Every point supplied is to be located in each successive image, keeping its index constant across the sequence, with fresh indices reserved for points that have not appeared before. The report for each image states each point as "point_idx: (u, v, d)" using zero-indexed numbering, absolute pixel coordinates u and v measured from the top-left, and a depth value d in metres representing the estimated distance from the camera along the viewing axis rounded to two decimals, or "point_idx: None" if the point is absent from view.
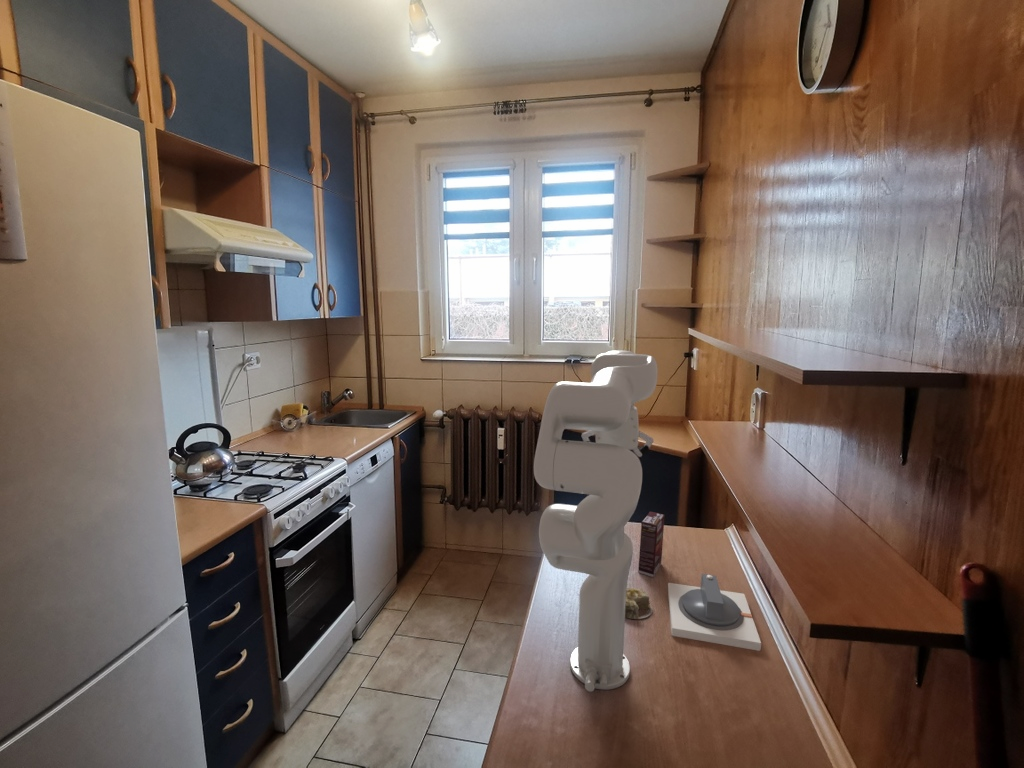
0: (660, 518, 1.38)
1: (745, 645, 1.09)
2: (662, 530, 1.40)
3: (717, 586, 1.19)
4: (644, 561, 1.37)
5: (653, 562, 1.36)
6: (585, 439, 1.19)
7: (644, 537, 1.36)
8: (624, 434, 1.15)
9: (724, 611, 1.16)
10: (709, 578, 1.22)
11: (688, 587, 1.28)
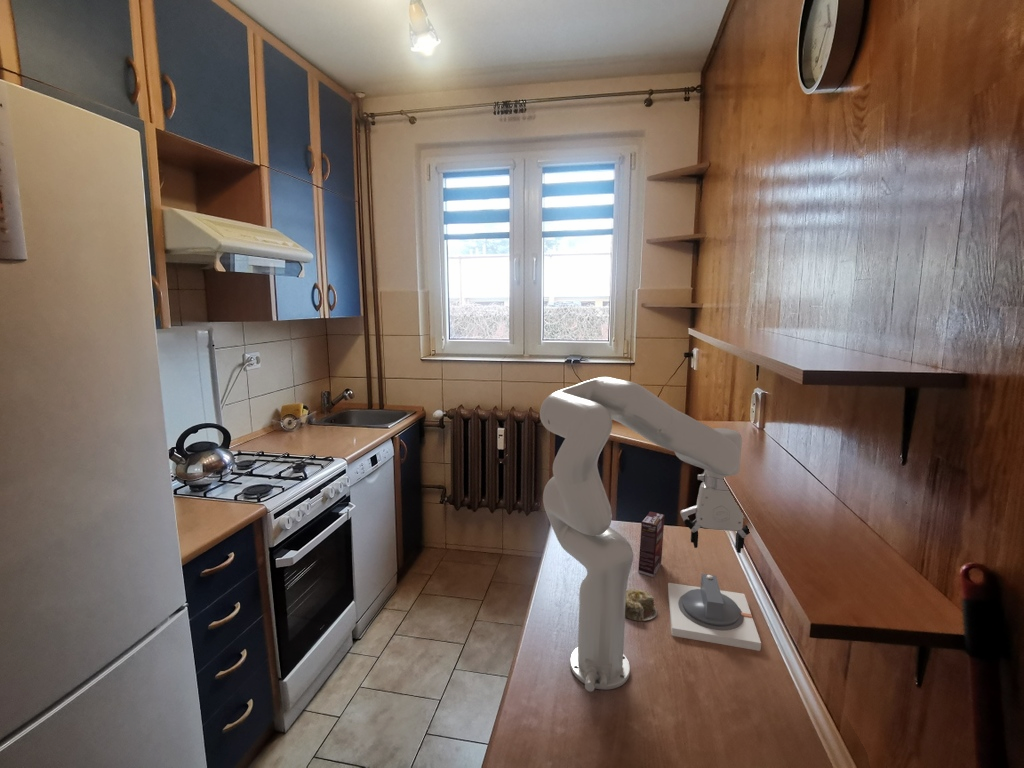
0: (660, 518, 1.38)
1: (745, 645, 1.09)
2: (662, 530, 1.40)
3: (717, 586, 1.19)
4: (644, 561, 1.37)
5: (653, 562, 1.36)
6: (685, 517, 1.16)
7: (644, 537, 1.36)
8: (729, 516, 1.11)
9: (724, 611, 1.16)
10: (709, 578, 1.22)
11: (688, 587, 1.28)
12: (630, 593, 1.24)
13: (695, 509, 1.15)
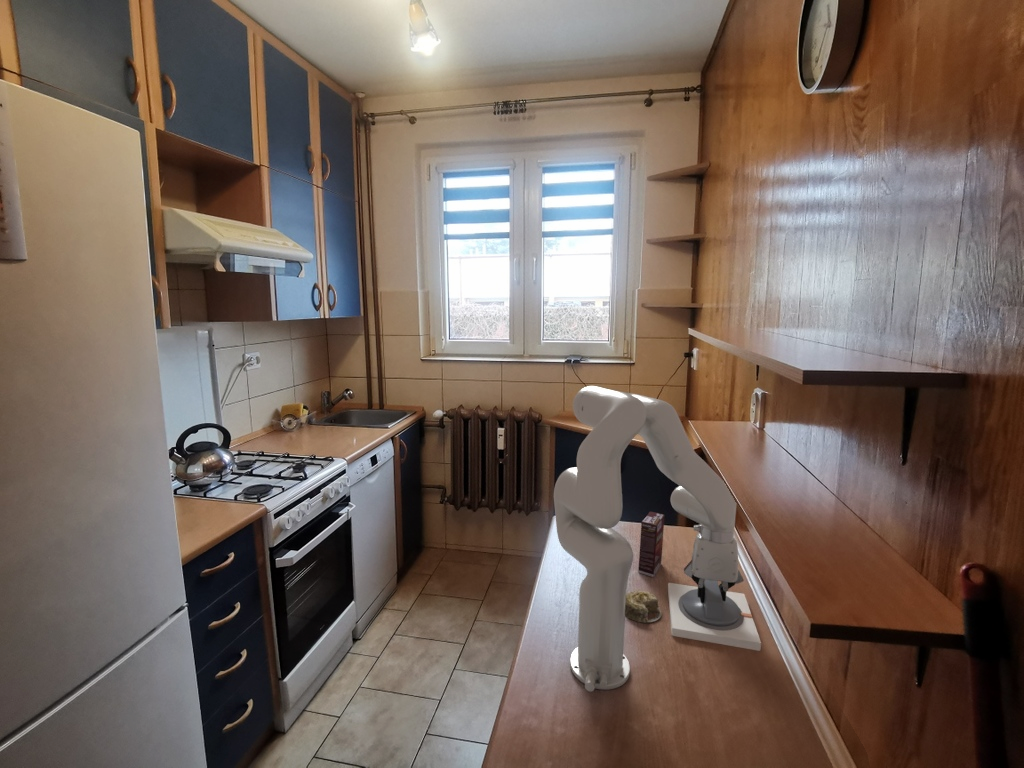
0: (660, 518, 1.38)
1: (745, 645, 1.09)
2: (662, 530, 1.40)
3: (717, 586, 1.19)
4: (644, 561, 1.37)
5: (653, 562, 1.36)
6: (690, 574, 1.18)
7: (644, 537, 1.36)
8: (724, 567, 1.14)
9: (724, 611, 1.16)
10: None
11: (688, 587, 1.28)
12: (634, 594, 1.23)
13: None
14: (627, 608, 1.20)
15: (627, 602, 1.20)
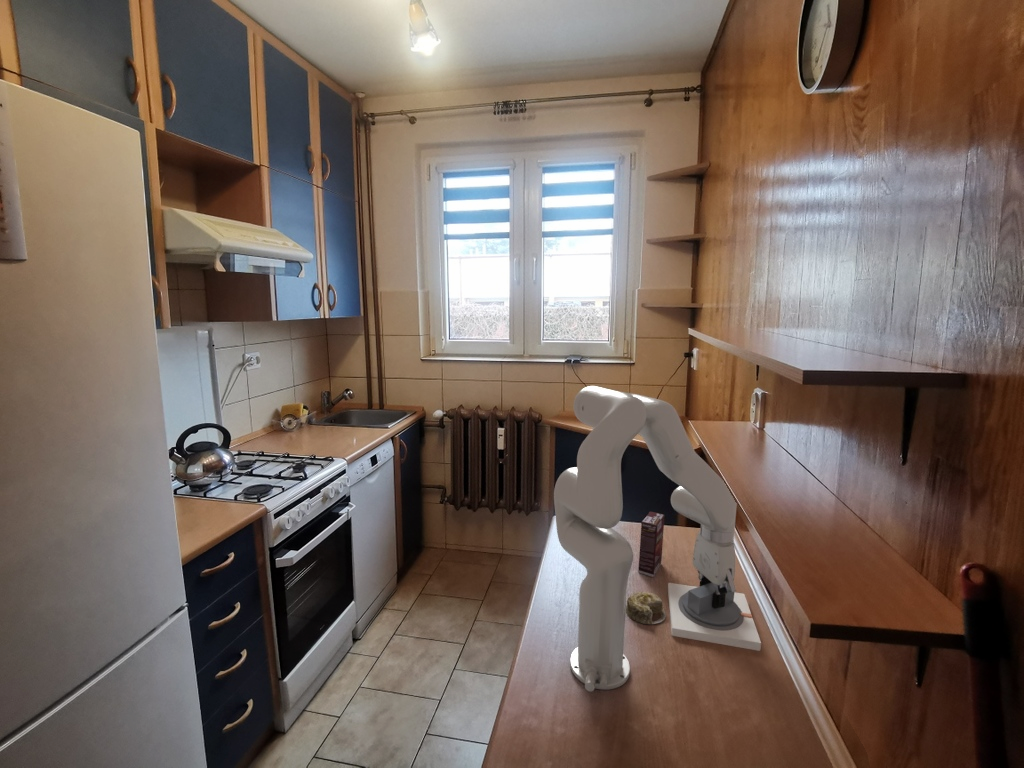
0: (660, 518, 1.38)
1: (745, 645, 1.09)
2: (662, 530, 1.40)
3: None
4: (644, 561, 1.37)
5: (653, 562, 1.36)
6: None
7: (644, 537, 1.36)
8: (709, 566, 1.14)
9: (714, 613, 1.15)
10: None
11: (688, 587, 1.28)
12: (638, 596, 1.23)
13: None
14: (631, 610, 1.19)
15: (631, 604, 1.20)
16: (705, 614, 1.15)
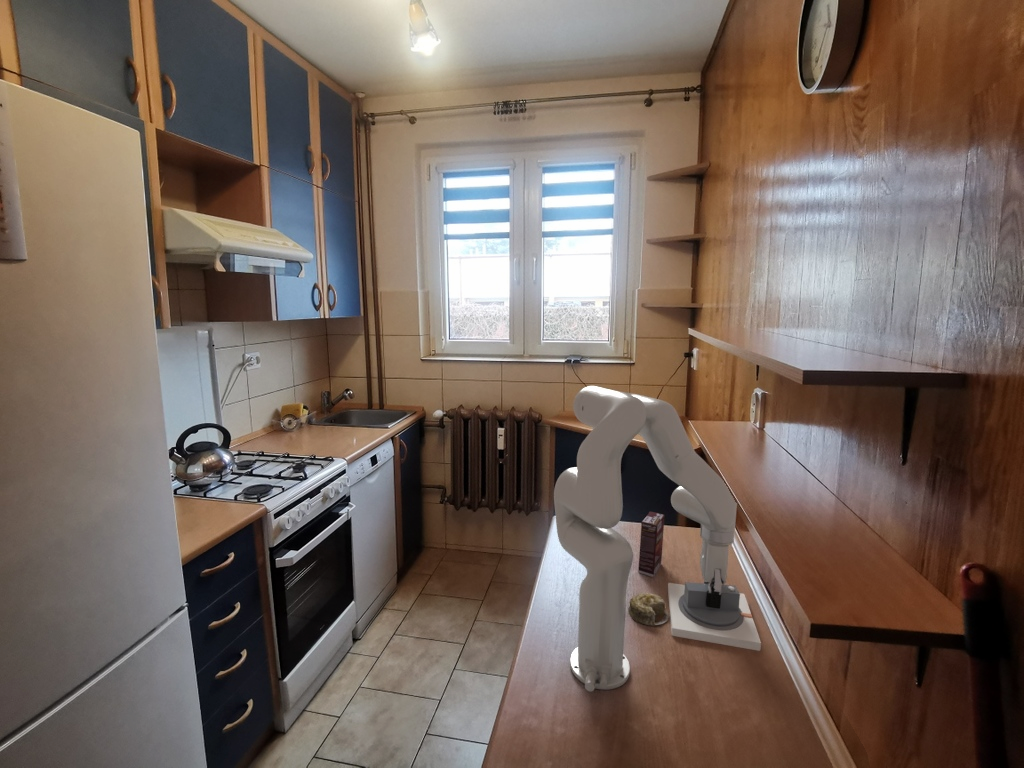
0: (660, 518, 1.38)
1: (745, 645, 1.09)
2: (662, 530, 1.40)
3: None
4: (644, 561, 1.37)
5: (653, 562, 1.36)
6: None
7: (644, 537, 1.36)
8: (703, 562, 1.16)
9: (705, 611, 1.16)
10: (728, 587, 1.18)
11: None
12: (641, 597, 1.22)
13: None
14: (634, 611, 1.19)
15: (634, 605, 1.19)
16: (695, 608, 1.17)
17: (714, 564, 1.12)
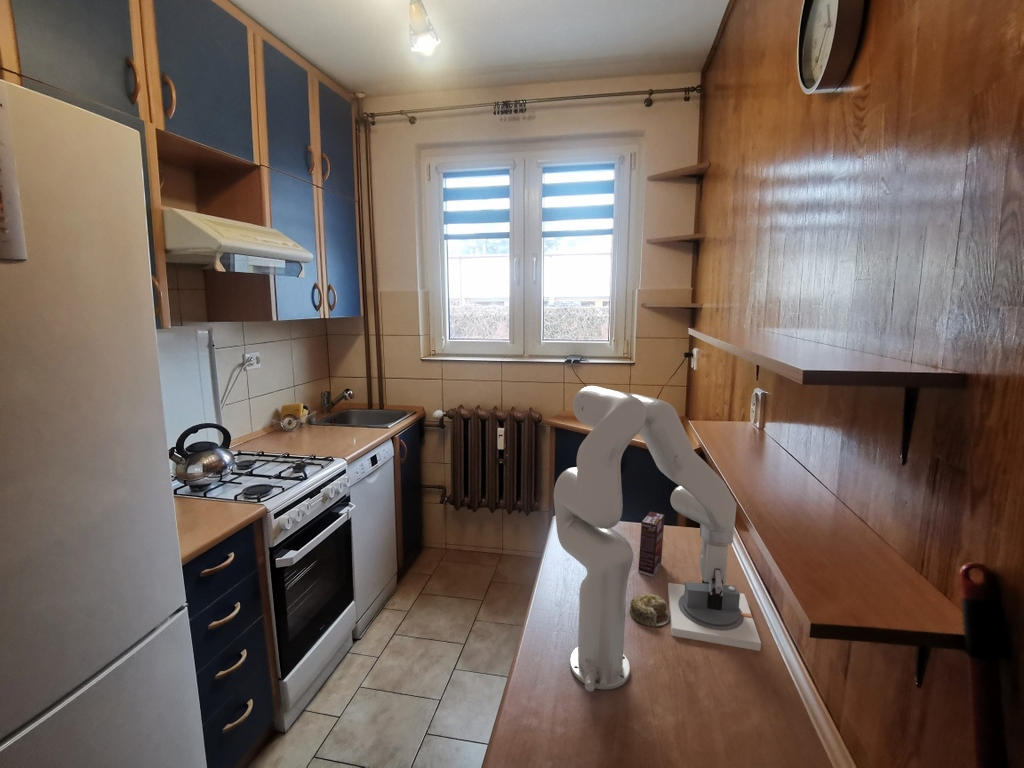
0: (660, 518, 1.38)
1: (745, 645, 1.09)
2: (662, 530, 1.40)
3: None
4: (644, 561, 1.37)
5: (653, 562, 1.36)
6: None
7: (644, 537, 1.36)
8: (703, 562, 1.16)
9: (705, 611, 1.16)
10: (728, 588, 1.18)
11: None
12: (642, 598, 1.22)
13: None
14: (635, 611, 1.18)
15: (635, 605, 1.19)
16: (694, 608, 1.17)
17: (713, 564, 1.12)
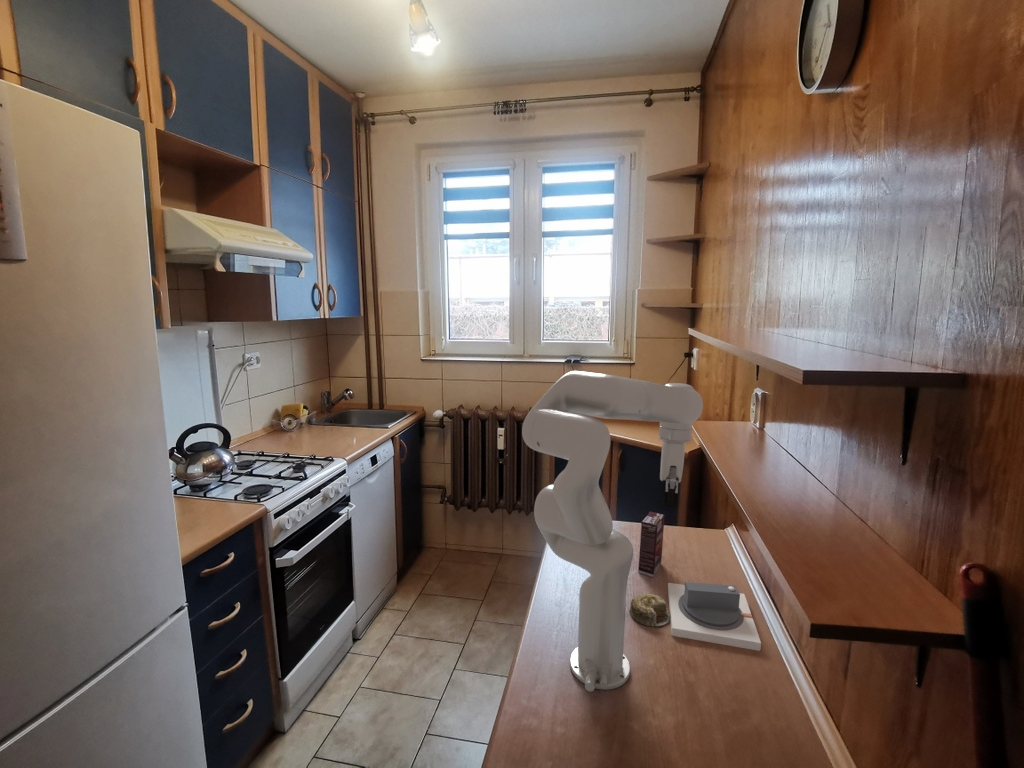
0: (660, 518, 1.38)
1: (745, 645, 1.09)
2: (662, 530, 1.40)
3: (718, 591, 1.16)
4: (644, 561, 1.37)
5: (653, 562, 1.36)
6: None
7: (644, 537, 1.36)
8: None
9: (705, 611, 1.16)
10: (728, 588, 1.18)
11: None
12: (642, 598, 1.22)
13: None
14: (635, 611, 1.18)
15: (635, 605, 1.19)
16: (694, 608, 1.17)
17: (669, 461, 1.14)
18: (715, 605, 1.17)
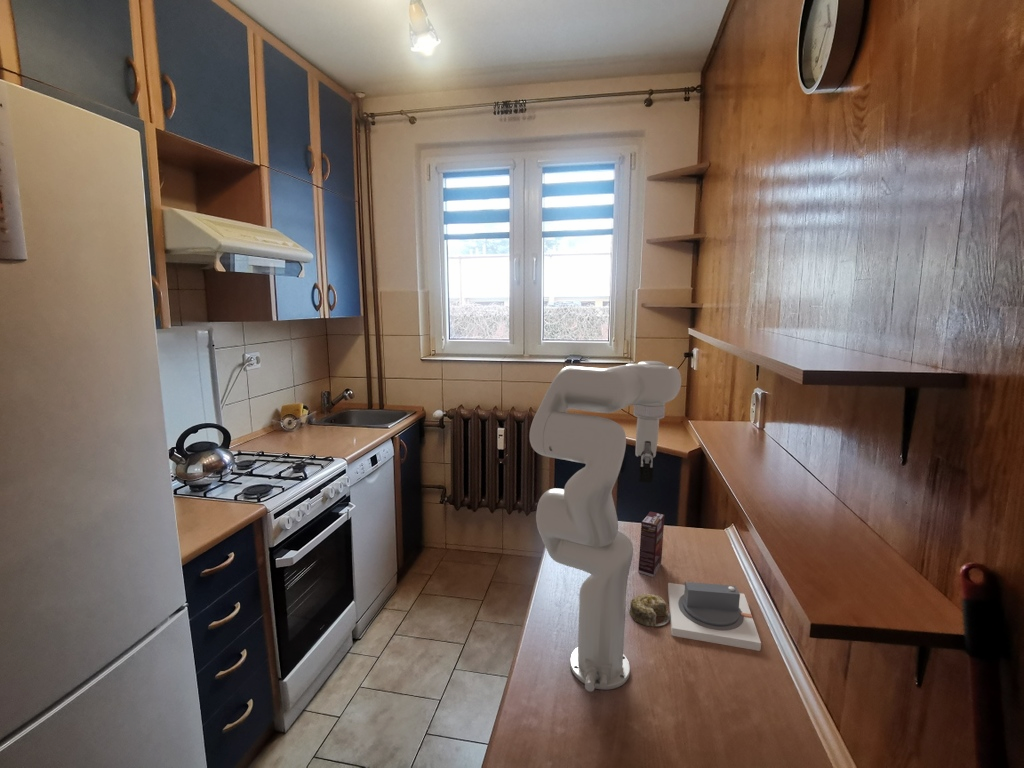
0: (660, 518, 1.38)
1: (745, 645, 1.09)
2: (662, 530, 1.40)
3: (718, 591, 1.16)
4: (644, 561, 1.37)
5: (653, 562, 1.36)
6: None
7: (644, 537, 1.36)
8: None
9: (705, 611, 1.16)
10: (728, 588, 1.18)
11: None
12: (642, 598, 1.22)
13: None
14: (635, 612, 1.18)
15: (635, 605, 1.19)
16: (694, 608, 1.17)
17: (644, 437, 1.17)
18: (715, 605, 1.17)
